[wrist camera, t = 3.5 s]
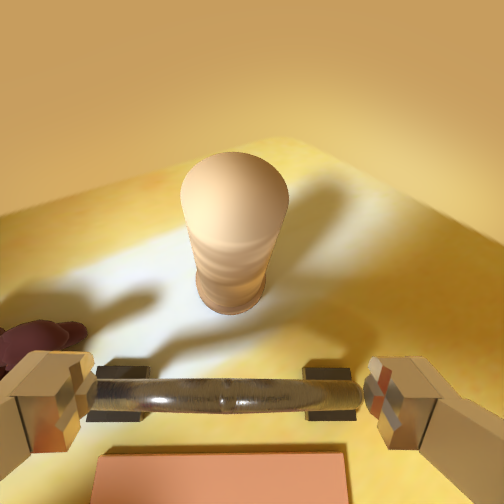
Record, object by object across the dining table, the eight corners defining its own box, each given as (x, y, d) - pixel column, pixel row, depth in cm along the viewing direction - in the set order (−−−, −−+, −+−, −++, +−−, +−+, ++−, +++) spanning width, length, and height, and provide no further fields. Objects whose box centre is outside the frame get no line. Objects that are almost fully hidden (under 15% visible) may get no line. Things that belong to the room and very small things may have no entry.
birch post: (194, 314, 21) (165, 246, 11) (199, 250, 23) (179, 143, 13) (264, 315, 21) (299, 251, 11) (263, 252, 23) (292, 150, 13)
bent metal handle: (91, 420, 17) (11, 440, 11) (102, 366, 19) (36, 356, 12) (351, 419, 19) (419, 436, 12) (345, 368, 20) (403, 360, 13)
